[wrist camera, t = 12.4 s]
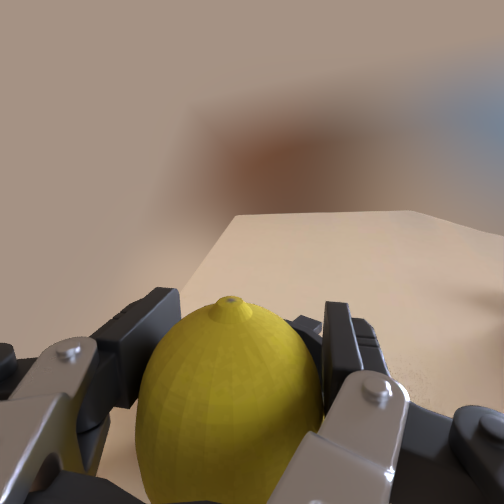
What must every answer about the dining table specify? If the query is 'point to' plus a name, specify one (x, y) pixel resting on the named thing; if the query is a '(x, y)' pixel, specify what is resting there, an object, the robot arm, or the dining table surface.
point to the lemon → (225, 406)
